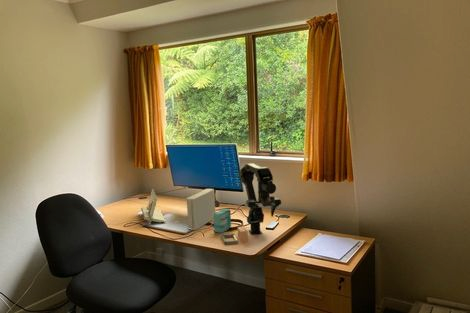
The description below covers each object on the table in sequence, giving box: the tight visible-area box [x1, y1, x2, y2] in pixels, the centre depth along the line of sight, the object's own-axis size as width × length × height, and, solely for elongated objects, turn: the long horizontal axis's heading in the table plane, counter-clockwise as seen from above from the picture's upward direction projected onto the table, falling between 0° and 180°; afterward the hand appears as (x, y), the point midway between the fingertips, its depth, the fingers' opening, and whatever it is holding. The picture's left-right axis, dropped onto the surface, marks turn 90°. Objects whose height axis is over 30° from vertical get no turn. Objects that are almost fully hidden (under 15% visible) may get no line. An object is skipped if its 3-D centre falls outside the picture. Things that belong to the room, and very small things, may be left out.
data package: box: [213, 208, 232, 234], centre depth 225 cm, size 12×4×12 cm, turn 148°
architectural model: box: [141, 188, 167, 225], centre depth 253 cm, size 20×29×21 cm
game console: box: [186, 188, 216, 231], centre depth 239 cm, size 6×27×20 cm, turn 156°
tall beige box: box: [237, 226, 249, 243], centre depth 209 cm, size 8×4×6 cm, turn 11°
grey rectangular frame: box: [220, 233, 239, 246], centre depth 208 cm, size 12×8×2 cm, turn 11°
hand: (264, 217), depth 205 cm, fingers open, 9 cm apart
